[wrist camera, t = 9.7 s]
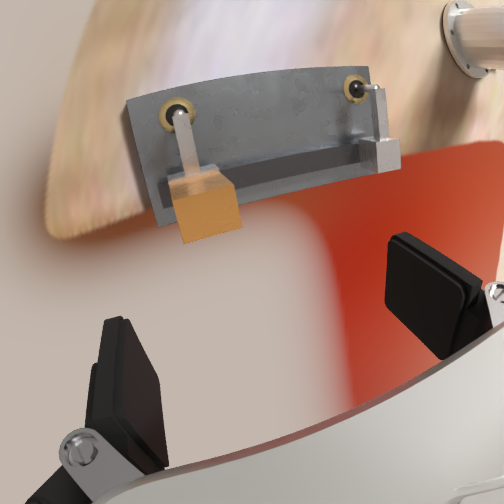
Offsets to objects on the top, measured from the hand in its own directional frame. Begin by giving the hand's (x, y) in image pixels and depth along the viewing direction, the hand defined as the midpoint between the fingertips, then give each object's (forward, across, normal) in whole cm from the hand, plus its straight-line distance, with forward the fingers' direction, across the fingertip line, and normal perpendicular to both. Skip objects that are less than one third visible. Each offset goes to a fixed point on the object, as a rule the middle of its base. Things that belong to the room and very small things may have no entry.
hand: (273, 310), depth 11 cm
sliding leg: (+20, +1, -2) cm, 20 cm away
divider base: (+22, -7, -3) cm, 23 cm away
